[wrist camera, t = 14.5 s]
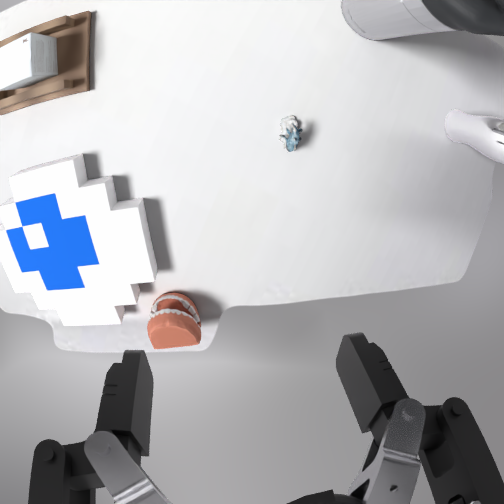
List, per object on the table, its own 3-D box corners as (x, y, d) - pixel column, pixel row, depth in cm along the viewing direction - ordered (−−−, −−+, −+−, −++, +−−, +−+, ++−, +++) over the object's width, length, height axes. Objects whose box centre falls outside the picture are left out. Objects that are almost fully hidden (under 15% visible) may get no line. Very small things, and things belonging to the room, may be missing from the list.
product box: (23, 50, 25) (-5, 48, 19) (58, 36, 26) (31, 30, 19) (25, 88, 28) (-4, 92, 22) (59, 76, 29) (32, 76, 22)
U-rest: (91, 12, 26) (80, 6, 22) (89, 90, 32) (77, 91, 28) (3, 44, 24) (-12, 42, 20) (3, 114, 30) (-12, 118, 26)
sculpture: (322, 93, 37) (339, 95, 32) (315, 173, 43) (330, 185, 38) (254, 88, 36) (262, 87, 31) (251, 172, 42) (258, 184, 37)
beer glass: (443, 146, 42) (505, 173, 29) (440, 108, 39) (506, 126, 26) (468, 141, 42) (527, 166, 29) (465, 105, 39) (528, 123, 26)
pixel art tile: (32, 326, 45) (-24, 188, 31) (39, 313, 49) (-10, 180, 34) (165, 320, 48) (127, 148, 34) (167, 305, 51) (135, 143, 37)
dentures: (193, 284, 49) (192, 316, 42) (201, 316, 53) (202, 349, 46) (143, 291, 49) (135, 323, 42) (155, 322, 52) (150, 354, 46)
